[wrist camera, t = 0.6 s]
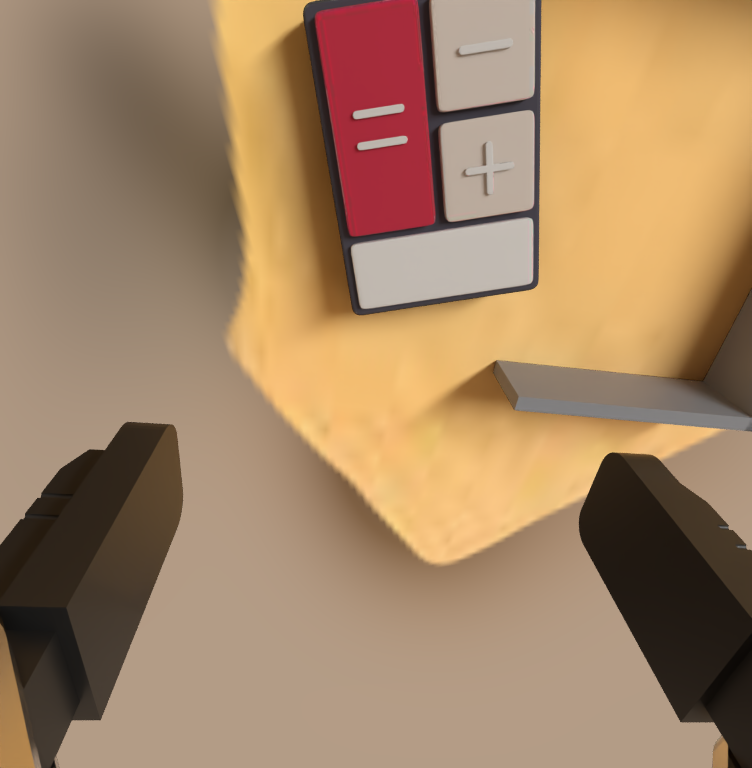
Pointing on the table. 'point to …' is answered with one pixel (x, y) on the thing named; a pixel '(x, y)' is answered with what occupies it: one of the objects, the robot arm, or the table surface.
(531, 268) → the calculator
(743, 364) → the box
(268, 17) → the table surface
